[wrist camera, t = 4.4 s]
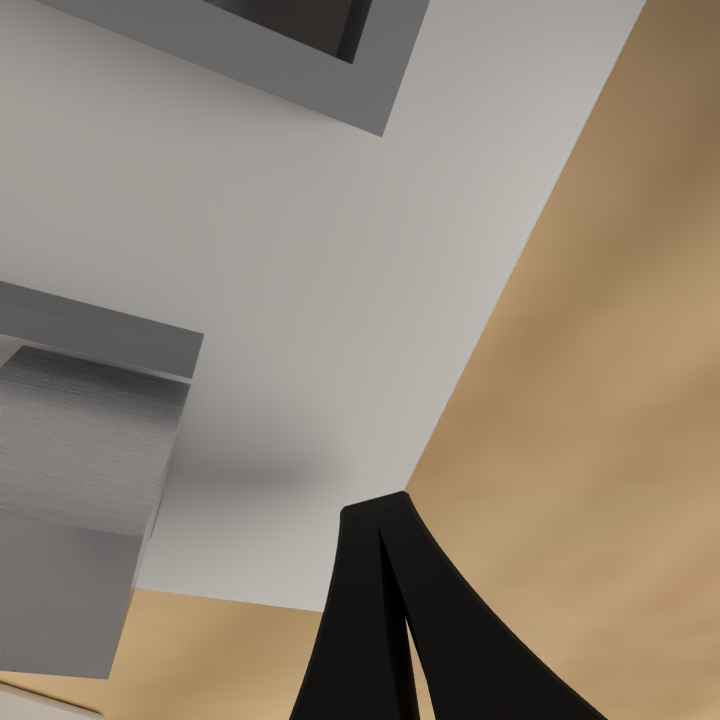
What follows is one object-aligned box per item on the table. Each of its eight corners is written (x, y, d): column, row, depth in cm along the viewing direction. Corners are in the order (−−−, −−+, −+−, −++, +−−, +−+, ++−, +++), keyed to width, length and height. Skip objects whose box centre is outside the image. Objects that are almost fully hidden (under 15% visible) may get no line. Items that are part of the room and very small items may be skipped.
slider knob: (191, 384, 10) (143, 537, 7) (161, 499, 12) (107, 679, 8) (22, 345, 10) (-129, 495, 6) (10, 472, 11) (-125, 660, 7)
